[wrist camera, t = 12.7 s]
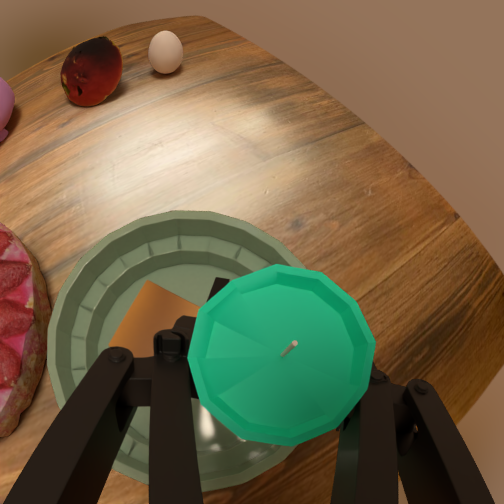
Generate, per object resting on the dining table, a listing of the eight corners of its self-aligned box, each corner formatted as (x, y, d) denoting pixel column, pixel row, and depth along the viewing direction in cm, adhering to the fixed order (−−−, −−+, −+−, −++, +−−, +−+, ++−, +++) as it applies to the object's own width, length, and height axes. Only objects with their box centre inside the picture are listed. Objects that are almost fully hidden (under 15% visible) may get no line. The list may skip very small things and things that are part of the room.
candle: (299, 330, 20) (375, 239, 10) (308, 420, 18) (407, 432, 7) (206, 334, 20) (180, 243, 9) (210, 427, 17) (182, 460, 6)
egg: (147, 81, 43) (141, 40, 36) (155, 65, 45) (150, 26, 38) (181, 79, 43) (178, 37, 36) (186, 63, 45) (184, 24, 38)
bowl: (344, 301, 29) (369, 276, 23) (249, 510, 20) (255, 536, 14) (152, 214, 32) (140, 176, 26) (45, 391, 23) (8, 384, 17)
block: (218, 332, 26) (215, 314, 21) (187, 390, 24) (176, 386, 19) (161, 303, 27) (146, 279, 22) (130, 357, 24) (107, 345, 19)
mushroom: (98, 109, 51) (54, 122, 38) (84, 51, 45) (37, 51, 32) (156, 87, 49) (121, 92, 36) (142, 26, 43) (103, 14, 30)
